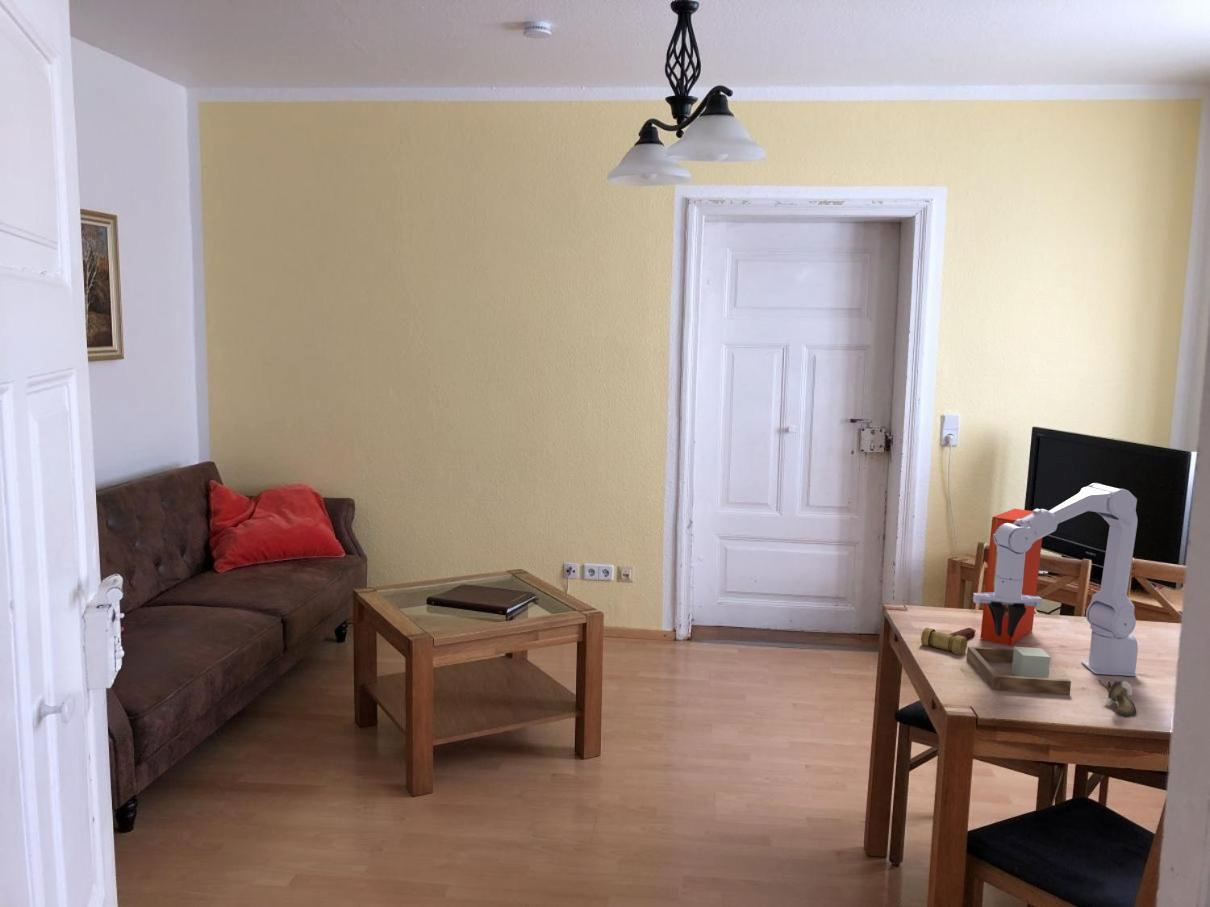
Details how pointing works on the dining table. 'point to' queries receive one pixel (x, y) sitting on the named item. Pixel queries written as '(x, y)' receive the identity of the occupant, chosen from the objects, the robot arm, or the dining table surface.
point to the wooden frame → (1012, 683)
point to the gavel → (947, 639)
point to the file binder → (1027, 588)
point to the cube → (1030, 662)
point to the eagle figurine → (1120, 698)
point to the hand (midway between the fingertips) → (1004, 635)
